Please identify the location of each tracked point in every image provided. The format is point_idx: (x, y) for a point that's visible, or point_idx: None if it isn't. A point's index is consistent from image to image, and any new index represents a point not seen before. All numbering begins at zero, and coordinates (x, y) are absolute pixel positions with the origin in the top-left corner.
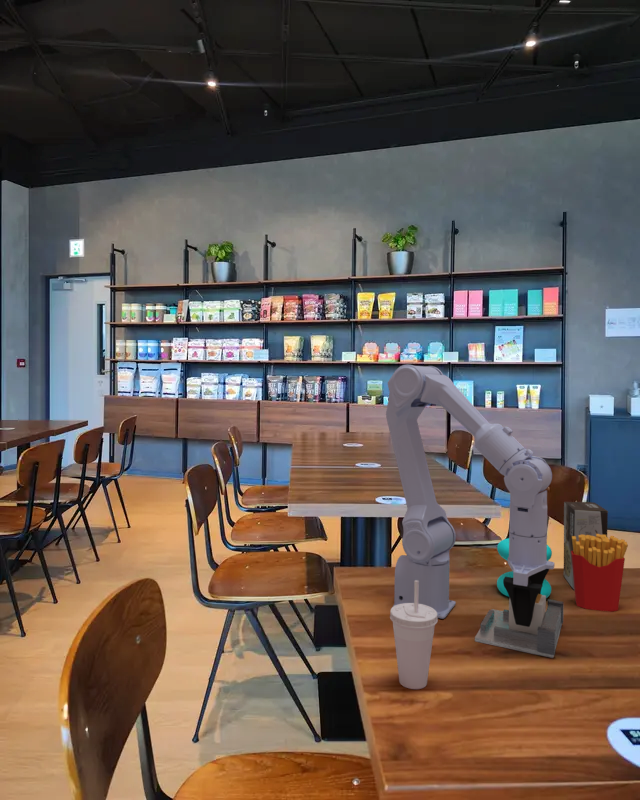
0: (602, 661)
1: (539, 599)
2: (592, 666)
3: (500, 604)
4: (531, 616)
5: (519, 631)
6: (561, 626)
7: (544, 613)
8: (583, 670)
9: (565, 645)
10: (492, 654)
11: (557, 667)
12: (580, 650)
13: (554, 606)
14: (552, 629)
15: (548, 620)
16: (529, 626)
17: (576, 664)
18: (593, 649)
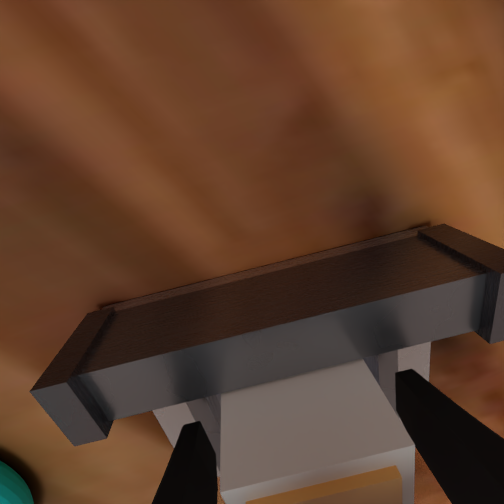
0: (345, 45)
1: (357, 489)
2: (422, 72)
3: (110, 482)
4: (458, 407)
5: (384, 374)
6: (113, 304)
7: (269, 386)
8: (477, 95)
9: (282, 231)
10: (479, 357)
11: (491, 187)
12: (290, 168)
13: (121, 393)
14: (499, 287)
15: (341, 344)
16: (412, 369)
17: (434, 138)
18: (240, 124)
